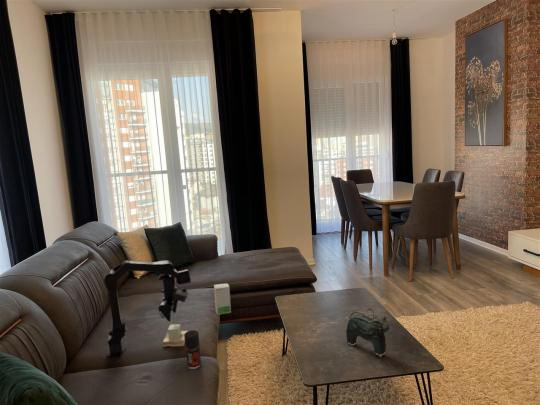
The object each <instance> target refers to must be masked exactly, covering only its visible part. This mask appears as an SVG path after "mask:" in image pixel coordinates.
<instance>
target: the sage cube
mask: <svg viewBox="0 0 540 405" xmlns="http://www.w3.org/2000/svg"><path fill="white" fill-rule="evenodd" d="M181 327H182V326H181V323H179V324H169V326H168V329H167V333H168V337H169V339H179V338H180V336H181V331H182V328H181Z"/></svg>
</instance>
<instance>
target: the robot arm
mask: <svg viewBox="0 0 540 405" xmlns="http://www.w3.org/2000/svg"><path fill="white" fill-rule="evenodd" d="M129 271H130V272H133V271H134V272H151V273H152V272H153V273H157V274H159V275H158V276H157V279H158V281H162V283H161V284H162V290H161V293H162V294H163V298H162V302H161V303H160V304H159V306H158V308H157V309H158V312H161V314H162V315H163V317H164V318H165V319H166V320H167V321H168V322H171V319H172V312H173V313H174V314H175V313H177V309H178V308H177V307H178V302H181V303H185V302H186V300H187V299H188V296H189V292H188V290H187V288H185V287H183V288H182V289H178V287H177V286H176V284H177V285H178V286H181V285H187V284H188V285H189V284H191V281H192V279H191V276H190V272H189V269H184V270H179V271H177V269H176V268H175V267H174V265H173V263H172V261H170V260H168V259H167V260H159V261H154V262H153V261H151V262H150V261H133V260H127V259H126V260H124V261H122V262H120V264H117V265H116V266H115V267H113V268H112V269H108V270H107V271H105V273H104V275H103V276H104V278H103V282H104V286H105V289H106V290H107V292H108V298H109V305H110V312H111V320H112V321H111V330H110V331H109V332H108V334H107V344H108V350H109V352H108V353H107V354H106V357H107V358H108V357H109V358H111V357H121V356H122V355H123V353H124V352H125V351H126V347H123V342H122V339H123V338H124V337H125V336H126V333H127V325H126V319H125V318H122V317H121V311H120V304H119V302H120V301H119V296H118V295H119V294H118V280H120V279H121V278H122V277H123V276H124V275H125V274H126V273H127V272H129Z"/></svg>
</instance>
